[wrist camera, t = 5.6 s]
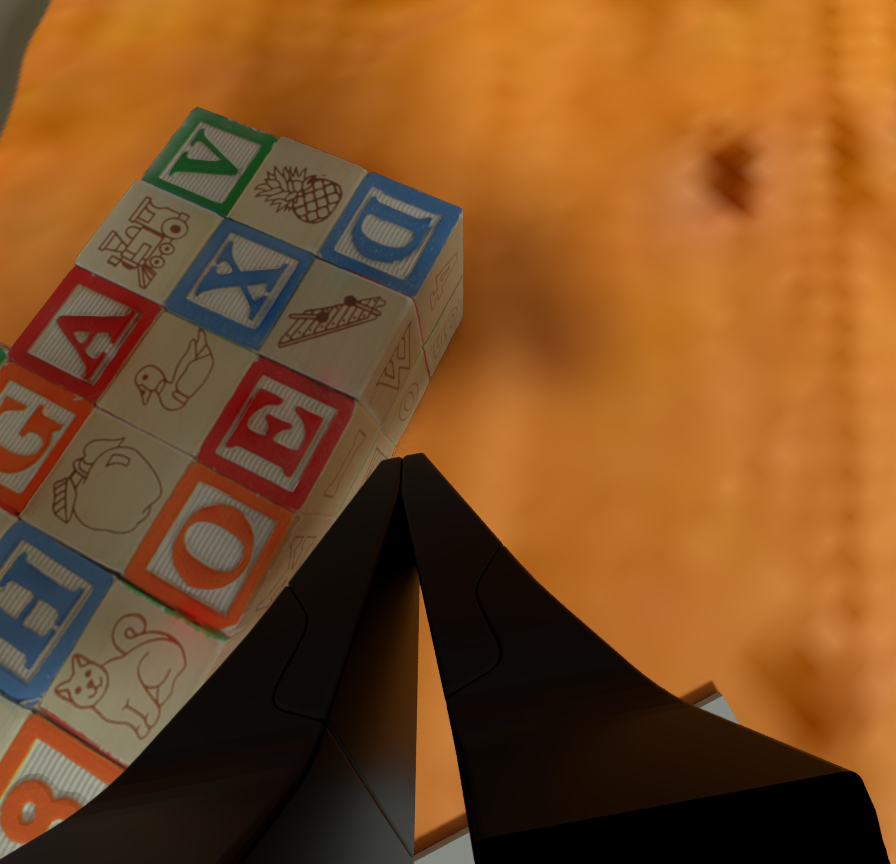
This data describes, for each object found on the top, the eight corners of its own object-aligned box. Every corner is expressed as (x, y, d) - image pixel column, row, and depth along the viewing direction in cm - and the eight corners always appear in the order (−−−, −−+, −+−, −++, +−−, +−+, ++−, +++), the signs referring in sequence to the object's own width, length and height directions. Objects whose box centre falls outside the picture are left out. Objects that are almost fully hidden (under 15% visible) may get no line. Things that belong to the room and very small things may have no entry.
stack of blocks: (468, 318, 17) (224, 212, 19) (472, 205, 11) (111, 62, 13) (178, 870, 13) (-102, 677, 15) (-58, 1155, 7) (-488, 779, 9)
